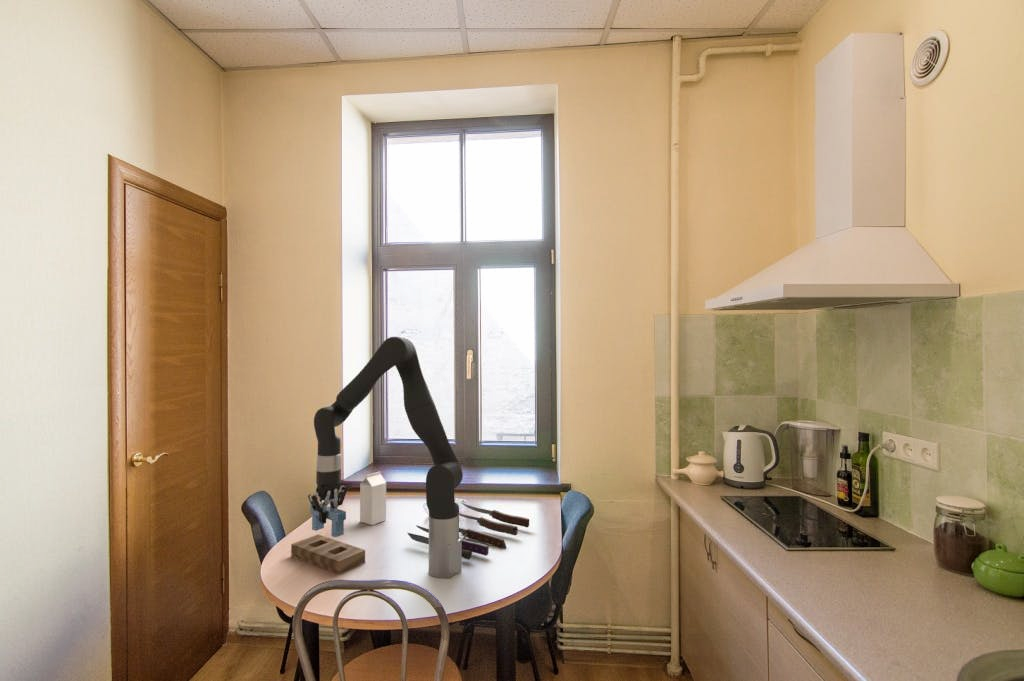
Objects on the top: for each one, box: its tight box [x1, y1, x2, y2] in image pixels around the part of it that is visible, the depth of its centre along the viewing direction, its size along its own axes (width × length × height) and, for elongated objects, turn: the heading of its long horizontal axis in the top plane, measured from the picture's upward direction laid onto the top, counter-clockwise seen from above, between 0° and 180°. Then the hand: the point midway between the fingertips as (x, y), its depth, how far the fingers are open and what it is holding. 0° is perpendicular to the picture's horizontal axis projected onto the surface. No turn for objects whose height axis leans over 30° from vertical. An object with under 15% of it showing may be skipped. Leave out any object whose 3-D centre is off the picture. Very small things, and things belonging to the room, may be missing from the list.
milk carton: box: [359, 470, 387, 526], centre depth 191 cm, size 7×7×19 cm
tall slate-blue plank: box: [310, 505, 347, 538], centre depth 156 cm, size 14×3×8 cm, turn 57°
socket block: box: [290, 534, 366, 575], centre depth 156 cm, size 24×10×4 cm, turn 57°
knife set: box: [407, 501, 530, 560], centre depth 174 cm, size 35×33×8 cm
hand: (327, 521), depth 156 cm, fingers closed on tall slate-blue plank, 3 cm apart
